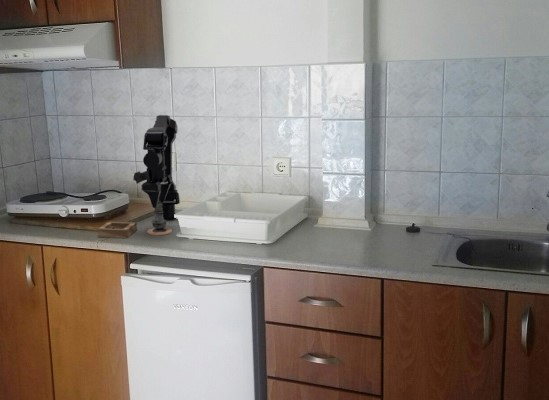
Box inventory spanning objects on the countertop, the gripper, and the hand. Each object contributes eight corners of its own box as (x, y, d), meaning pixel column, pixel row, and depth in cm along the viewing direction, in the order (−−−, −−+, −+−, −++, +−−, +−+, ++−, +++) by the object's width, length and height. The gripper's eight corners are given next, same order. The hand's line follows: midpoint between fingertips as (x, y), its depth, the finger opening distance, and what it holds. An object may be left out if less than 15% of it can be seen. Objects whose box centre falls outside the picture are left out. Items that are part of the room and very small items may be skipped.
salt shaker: (165, 232, 231) (164, 201, 228) (150, 232, 231) (148, 201, 228) (168, 228, 236) (167, 198, 234) (153, 228, 236) (152, 198, 234)
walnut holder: (109, 229, 238) (109, 221, 237) (136, 230, 236) (136, 222, 236) (97, 237, 227) (97, 229, 226) (126, 238, 226) (126, 230, 225)
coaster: (152, 228, 238) (151, 227, 238) (174, 229, 237) (174, 227, 237) (144, 234, 230) (144, 233, 230) (167, 235, 229) (167, 234, 228)
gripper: (144, 159, 238) (145, 199, 241) (126, 167, 220) (128, 210, 223) (172, 160, 236) (173, 199, 240) (156, 168, 218) (158, 211, 222)
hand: (158, 205), depth 231 cm, fingers open, 9 cm apart
